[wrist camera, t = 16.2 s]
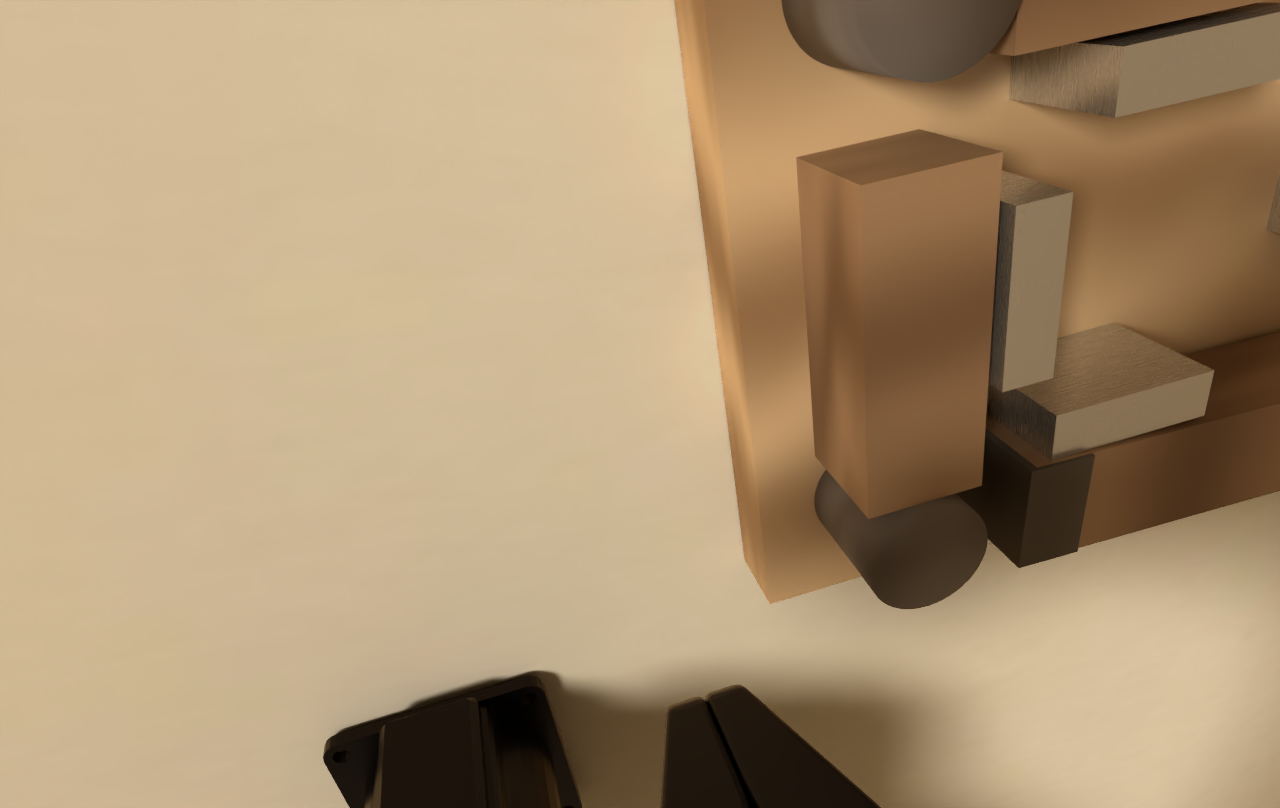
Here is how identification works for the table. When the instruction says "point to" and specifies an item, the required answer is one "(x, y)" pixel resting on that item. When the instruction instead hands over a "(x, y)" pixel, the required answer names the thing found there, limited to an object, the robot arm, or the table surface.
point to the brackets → (1039, 229)
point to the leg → (1138, 466)
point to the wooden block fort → (935, 253)
